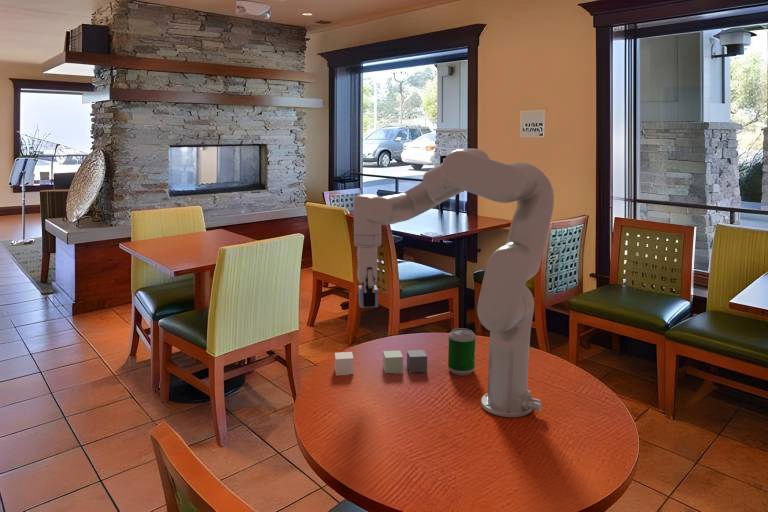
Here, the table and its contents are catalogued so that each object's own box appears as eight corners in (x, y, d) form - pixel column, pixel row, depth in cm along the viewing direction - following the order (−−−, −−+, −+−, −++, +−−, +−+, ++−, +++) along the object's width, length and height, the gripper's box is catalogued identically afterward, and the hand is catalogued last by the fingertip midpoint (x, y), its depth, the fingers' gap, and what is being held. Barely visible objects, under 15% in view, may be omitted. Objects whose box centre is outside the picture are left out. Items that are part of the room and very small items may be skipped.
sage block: (399, 366, 166) (400, 350, 165) (402, 373, 161) (402, 356, 160) (383, 367, 166) (383, 351, 165) (385, 374, 161) (385, 357, 160)
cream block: (352, 367, 165) (352, 351, 164) (353, 374, 160) (353, 358, 159) (335, 368, 165) (334, 352, 164) (336, 375, 160) (335, 359, 159)
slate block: (376, 301, 162) (375, 284, 161) (378, 306, 157) (377, 289, 156) (358, 302, 161) (358, 285, 160) (360, 307, 156) (359, 290, 155)
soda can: (473, 377, 158) (475, 336, 156) (446, 375, 160) (447, 335, 157) (474, 367, 165) (476, 328, 163) (449, 365, 167) (450, 326, 164)
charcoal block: (423, 365, 167) (423, 349, 166) (427, 372, 162) (427, 356, 161) (406, 366, 166) (407, 350, 165) (409, 373, 161) (410, 357, 160)
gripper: (351, 235, 163) (352, 295, 167) (356, 245, 146) (357, 313, 150) (377, 234, 164) (378, 295, 168) (385, 245, 147) (385, 312, 151)
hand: (368, 302), depth 159 cm, fingers closed on slate block, 4 cm apart
